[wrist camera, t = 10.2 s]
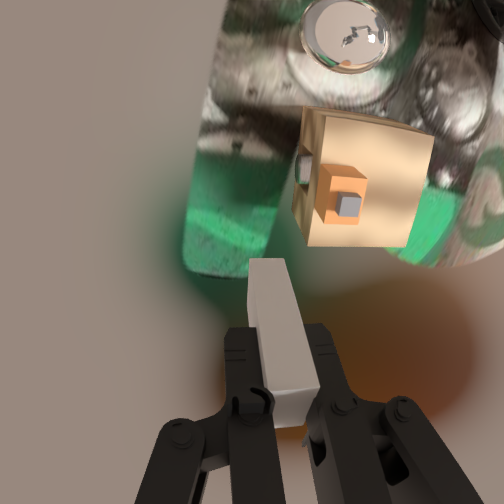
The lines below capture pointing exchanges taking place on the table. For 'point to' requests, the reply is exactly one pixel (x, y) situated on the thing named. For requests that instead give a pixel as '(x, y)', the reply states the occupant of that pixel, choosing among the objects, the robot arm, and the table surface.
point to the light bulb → (344, 35)
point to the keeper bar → (340, 194)
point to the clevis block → (372, 167)
